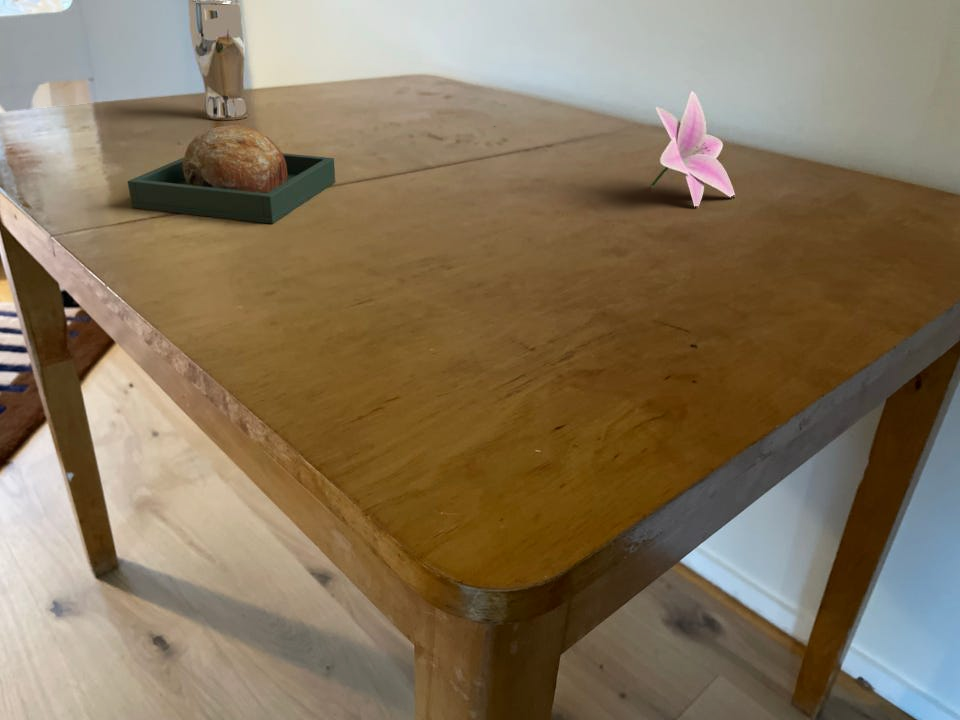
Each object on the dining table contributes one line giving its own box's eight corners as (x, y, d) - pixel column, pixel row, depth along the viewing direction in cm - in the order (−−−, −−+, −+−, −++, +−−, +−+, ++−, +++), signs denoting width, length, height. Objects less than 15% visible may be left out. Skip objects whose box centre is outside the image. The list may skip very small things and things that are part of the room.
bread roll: (182, 223, 79) (146, 160, 73) (234, 160, 85) (204, 96, 79) (264, 238, 76) (234, 173, 70) (312, 171, 82) (288, 106, 76)
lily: (632, 219, 79) (691, 144, 73) (598, 148, 86) (648, 74, 80) (718, 243, 85) (780, 175, 78) (679, 174, 92) (733, 106, 85)
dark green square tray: (131, 207, 74) (126, 181, 73) (212, 169, 87) (209, 145, 86) (272, 224, 71) (270, 196, 70) (335, 182, 84) (334, 157, 83)
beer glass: (231, 109, 115) (218, -3, 108) (262, 116, 112) (251, 1, 105) (191, 116, 110) (175, -1, 103) (223, 123, 107) (208, 3, 100)
